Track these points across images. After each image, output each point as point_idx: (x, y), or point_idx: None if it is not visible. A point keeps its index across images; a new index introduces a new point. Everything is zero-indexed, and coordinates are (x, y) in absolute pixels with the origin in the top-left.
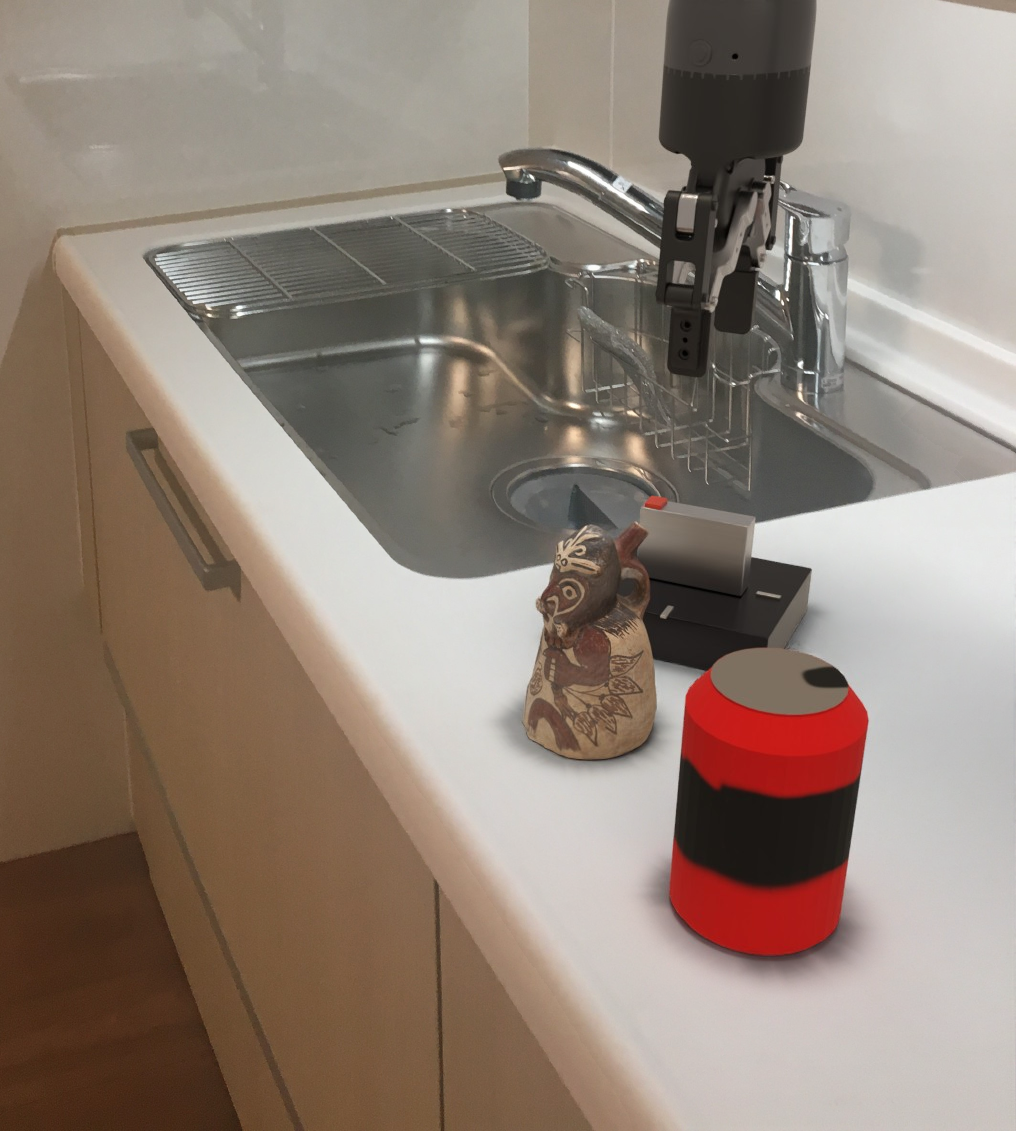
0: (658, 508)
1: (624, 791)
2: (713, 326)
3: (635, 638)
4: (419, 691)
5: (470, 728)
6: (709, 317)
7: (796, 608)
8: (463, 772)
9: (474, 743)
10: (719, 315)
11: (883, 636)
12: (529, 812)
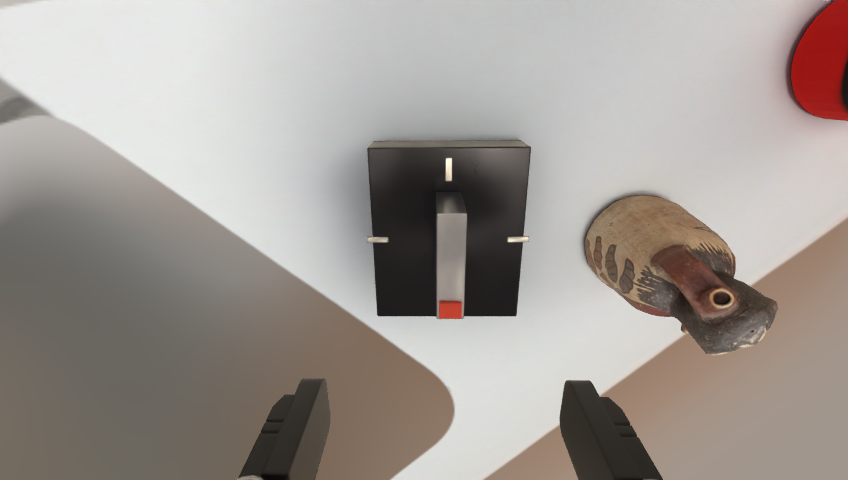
0: (462, 303)
1: (715, 186)
2: (599, 445)
3: (709, 238)
4: (620, 350)
5: None
6: (638, 470)
7: (421, 144)
8: None
9: None
10: (323, 439)
11: (387, 63)
12: (757, 234)
